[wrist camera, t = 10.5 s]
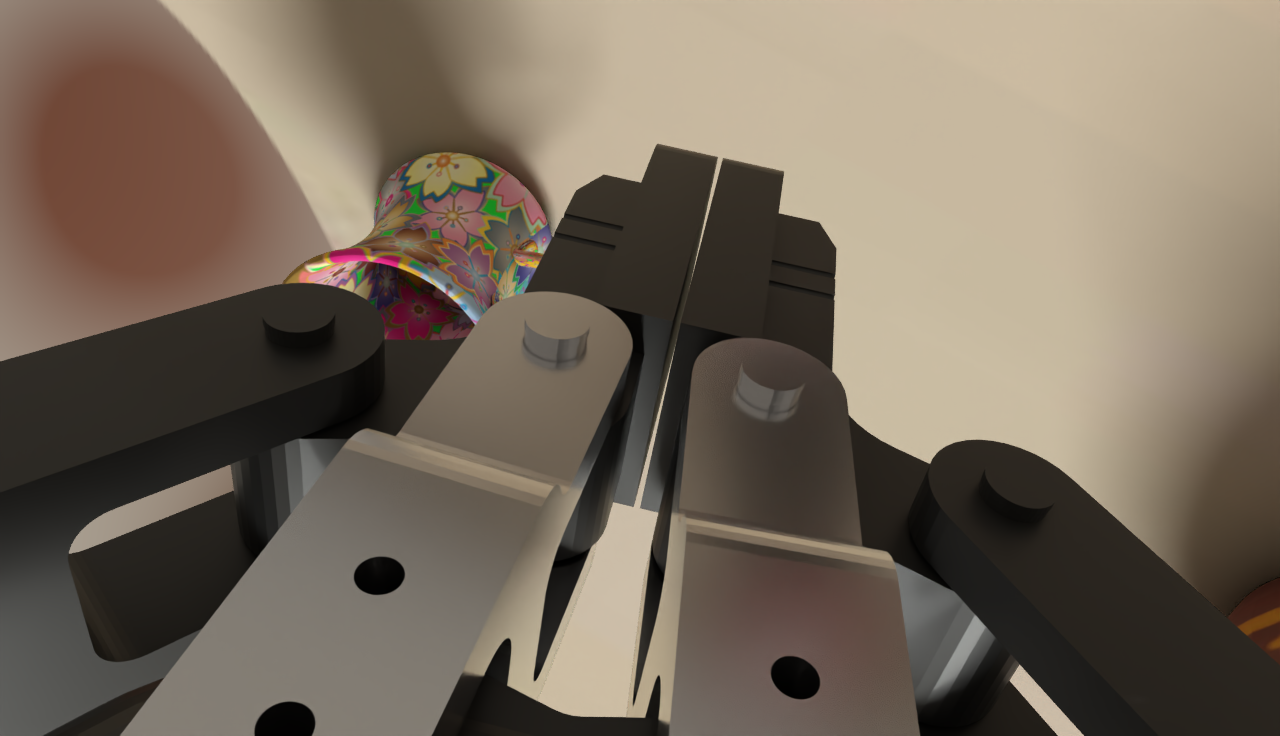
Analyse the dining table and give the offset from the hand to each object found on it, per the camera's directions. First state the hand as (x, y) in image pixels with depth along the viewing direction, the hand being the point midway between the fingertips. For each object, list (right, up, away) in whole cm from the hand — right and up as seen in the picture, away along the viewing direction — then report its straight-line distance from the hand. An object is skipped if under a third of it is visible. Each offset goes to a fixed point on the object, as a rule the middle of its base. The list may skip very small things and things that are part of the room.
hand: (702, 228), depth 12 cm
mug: (-7, +5, +35) cm, 36 cm away
